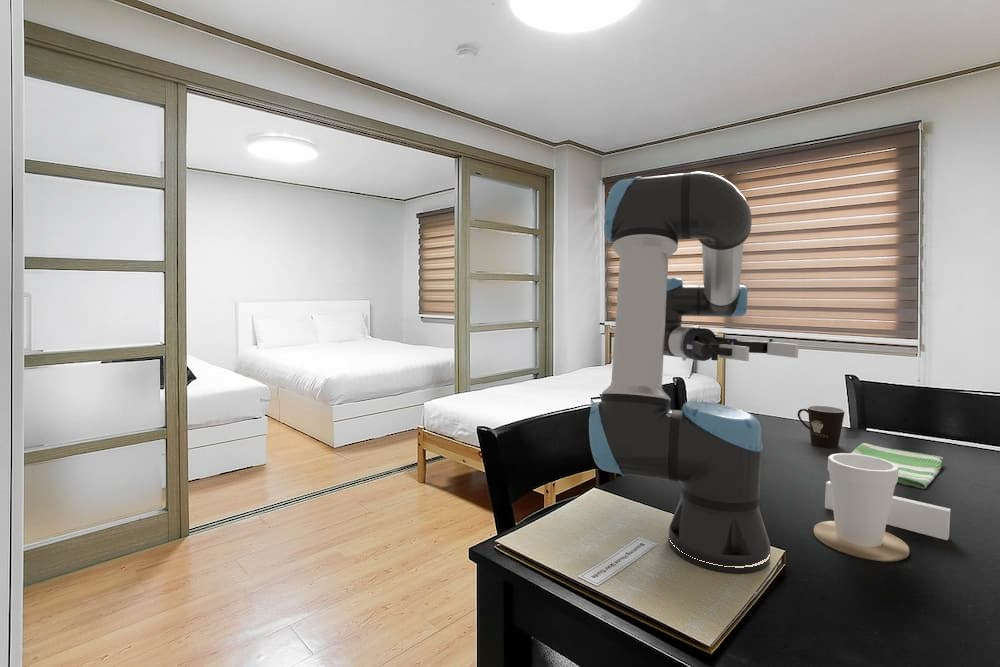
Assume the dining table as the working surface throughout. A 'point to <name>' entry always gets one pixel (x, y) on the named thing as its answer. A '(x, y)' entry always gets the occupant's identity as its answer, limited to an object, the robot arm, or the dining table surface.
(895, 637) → the dining table surface
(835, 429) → the coffee mug
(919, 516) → the low wall
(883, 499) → the foam cup
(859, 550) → the cork coaster
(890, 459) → the dish towel
